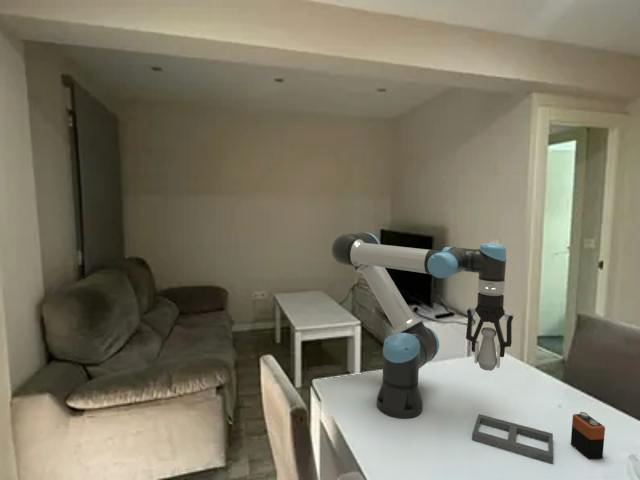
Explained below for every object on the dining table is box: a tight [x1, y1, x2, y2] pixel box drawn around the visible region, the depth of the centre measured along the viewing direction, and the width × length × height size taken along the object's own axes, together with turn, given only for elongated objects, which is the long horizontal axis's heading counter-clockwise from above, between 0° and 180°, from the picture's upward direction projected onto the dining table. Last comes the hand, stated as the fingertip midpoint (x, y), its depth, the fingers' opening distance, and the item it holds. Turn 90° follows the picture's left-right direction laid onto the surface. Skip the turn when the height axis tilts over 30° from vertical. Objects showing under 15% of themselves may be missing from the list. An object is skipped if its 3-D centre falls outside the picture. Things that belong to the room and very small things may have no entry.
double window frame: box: [471, 413, 554, 465], centre depth 111 cm, size 20×12×2 cm, turn 60°
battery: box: [570, 411, 606, 460], centre depth 106 cm, size 4×7×10 cm, turn 5°
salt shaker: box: [477, 326, 497, 372], centre depth 123 cm, size 6×6×13 cm
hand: (487, 363), depth 123 cm, fingers closed on salt shaker, 6 cm apart
